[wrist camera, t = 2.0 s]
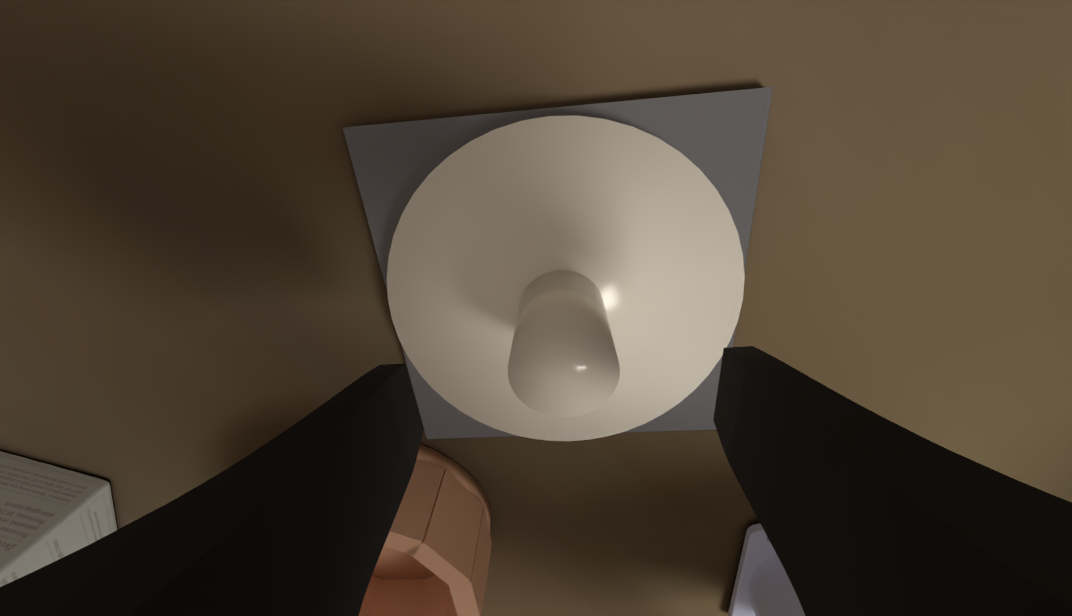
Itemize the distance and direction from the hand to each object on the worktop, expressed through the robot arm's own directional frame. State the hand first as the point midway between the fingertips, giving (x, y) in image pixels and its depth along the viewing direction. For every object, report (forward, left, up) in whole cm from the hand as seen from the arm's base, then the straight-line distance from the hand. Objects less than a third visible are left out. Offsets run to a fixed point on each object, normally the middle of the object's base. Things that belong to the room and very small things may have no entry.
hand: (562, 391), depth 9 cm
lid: (0, 0, -5) cm, 5 cm away
